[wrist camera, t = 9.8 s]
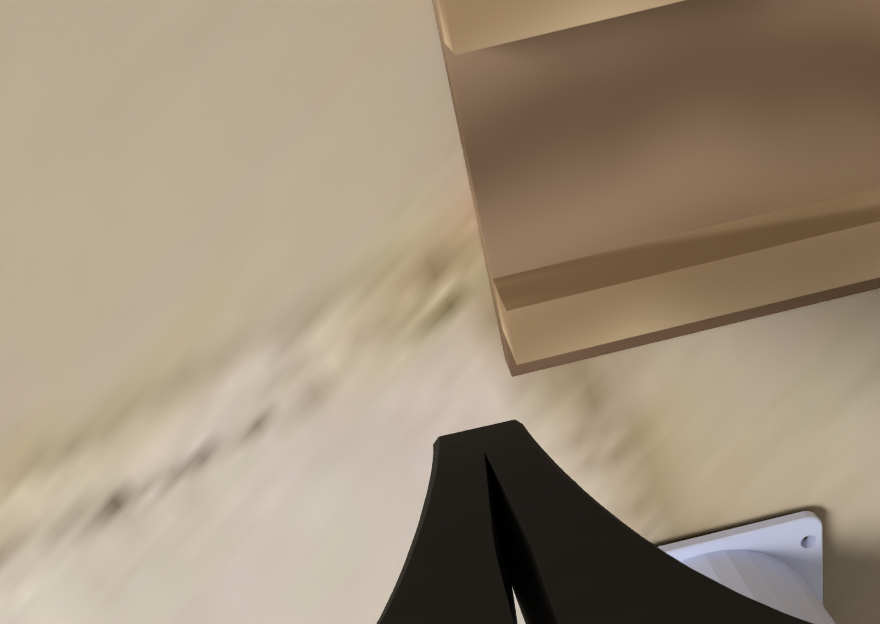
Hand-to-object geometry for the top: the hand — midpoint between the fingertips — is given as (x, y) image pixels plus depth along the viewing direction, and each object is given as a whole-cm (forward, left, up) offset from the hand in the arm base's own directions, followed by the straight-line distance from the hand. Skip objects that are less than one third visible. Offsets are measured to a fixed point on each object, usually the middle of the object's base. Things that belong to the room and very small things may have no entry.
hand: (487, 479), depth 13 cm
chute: (+2, -10, -10) cm, 14 cm away
